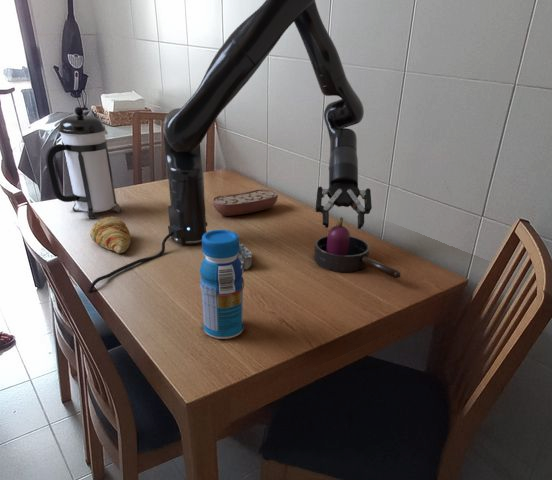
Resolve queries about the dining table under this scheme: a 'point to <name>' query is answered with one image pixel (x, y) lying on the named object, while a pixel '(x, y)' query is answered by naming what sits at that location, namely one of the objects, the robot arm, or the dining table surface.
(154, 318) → the dining table surface
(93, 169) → the coffee press
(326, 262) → the pan
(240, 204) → the anatomical model
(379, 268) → the pan handle
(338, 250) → the purple eggplant
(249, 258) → the grey irregular chunk
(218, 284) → the beverage bottle
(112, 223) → the croissant
